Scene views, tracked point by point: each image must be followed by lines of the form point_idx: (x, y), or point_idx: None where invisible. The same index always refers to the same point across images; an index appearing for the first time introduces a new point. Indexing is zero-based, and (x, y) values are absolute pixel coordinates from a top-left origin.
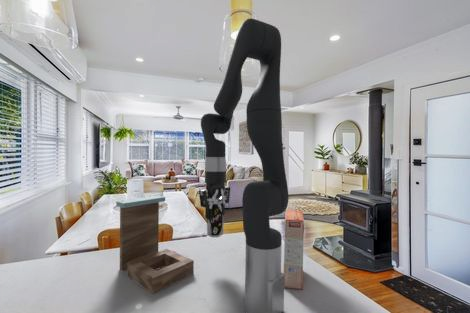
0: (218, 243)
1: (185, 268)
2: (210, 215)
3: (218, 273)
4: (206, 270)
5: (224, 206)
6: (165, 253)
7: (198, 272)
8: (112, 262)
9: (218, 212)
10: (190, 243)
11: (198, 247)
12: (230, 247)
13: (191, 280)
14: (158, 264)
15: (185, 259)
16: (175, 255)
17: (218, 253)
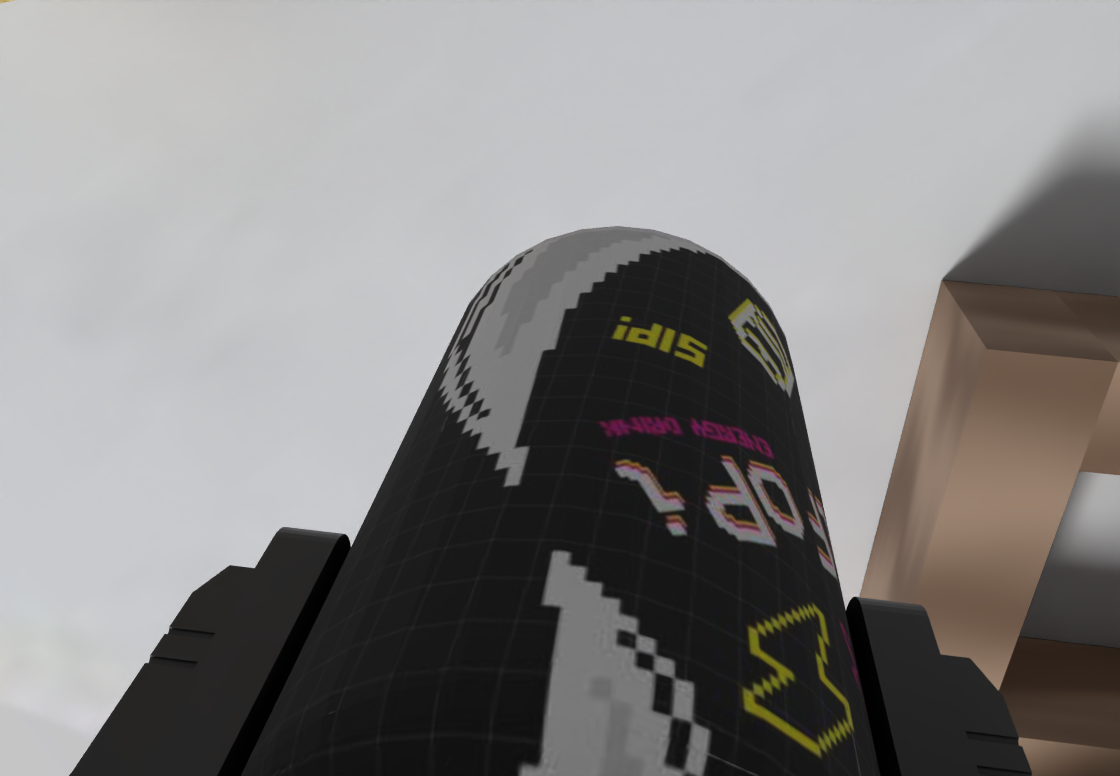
0: (117, 539)
1: (1113, 338)
2: (945, 690)
3: (768, 31)
4: (785, 211)
5: (87, 765)
6: None
7: (878, 256)
8: None
9: (729, 590)
10: None
11: None
12: (85, 360)
13: (1087, 196)
14: (1037, 668)
15: (1012, 450)
16: (967, 613)
17: (327, 376)
